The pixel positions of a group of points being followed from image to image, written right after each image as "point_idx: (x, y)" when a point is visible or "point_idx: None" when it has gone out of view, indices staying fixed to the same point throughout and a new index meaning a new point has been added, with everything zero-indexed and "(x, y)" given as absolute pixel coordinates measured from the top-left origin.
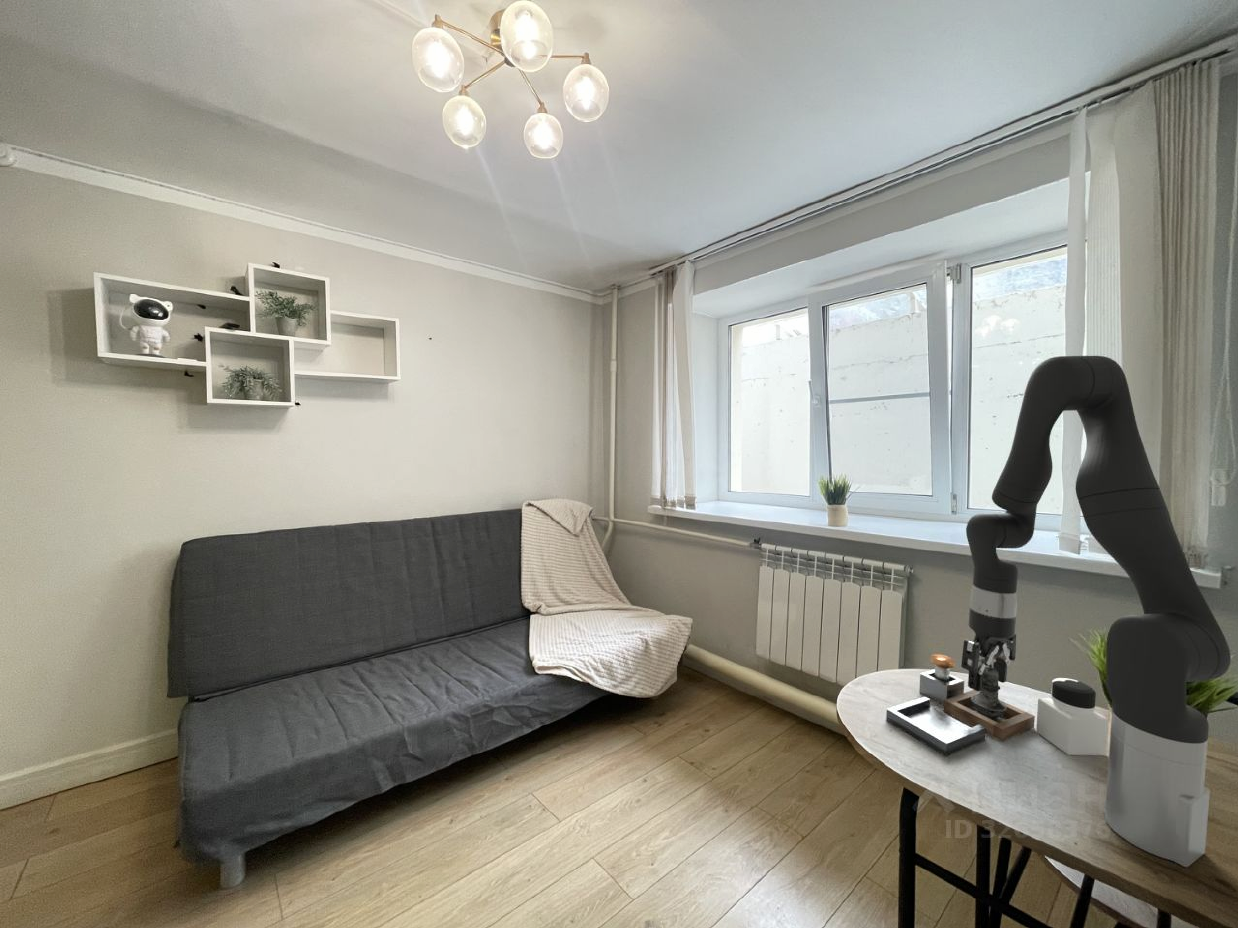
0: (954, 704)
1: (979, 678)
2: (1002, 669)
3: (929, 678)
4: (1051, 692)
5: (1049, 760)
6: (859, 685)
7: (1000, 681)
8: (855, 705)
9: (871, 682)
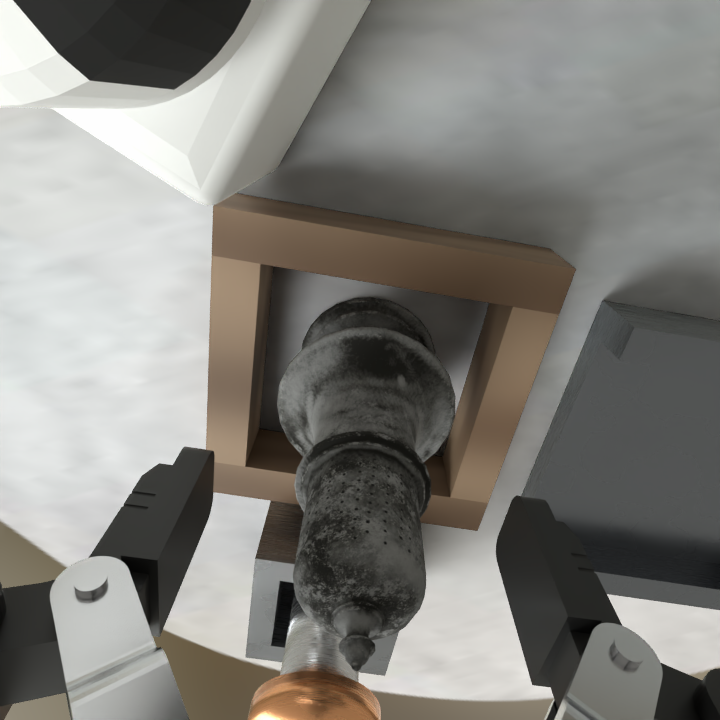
0: (485, 492)
1: (584, 587)
2: (173, 541)
3: (393, 640)
4: (142, 99)
5: (560, 11)
6: (528, 694)
7: (211, 465)
8: (702, 654)
9: (465, 684)
